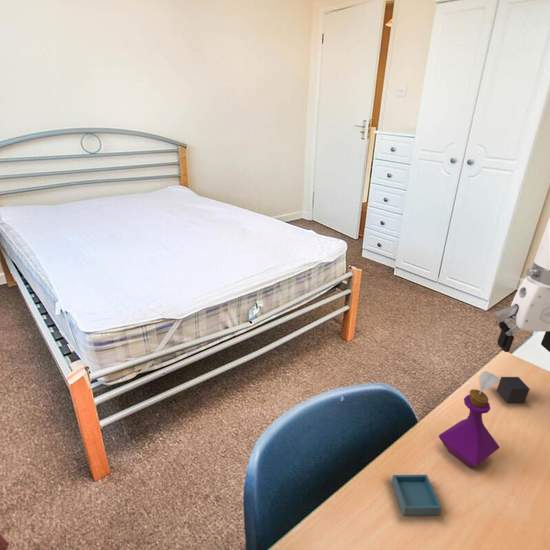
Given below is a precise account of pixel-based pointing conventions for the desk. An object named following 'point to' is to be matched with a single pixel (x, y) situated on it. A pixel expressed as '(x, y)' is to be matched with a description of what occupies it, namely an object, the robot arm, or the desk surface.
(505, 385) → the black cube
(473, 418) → the perfume bottle
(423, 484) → the shallow rectangular tray
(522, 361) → the desk surface
